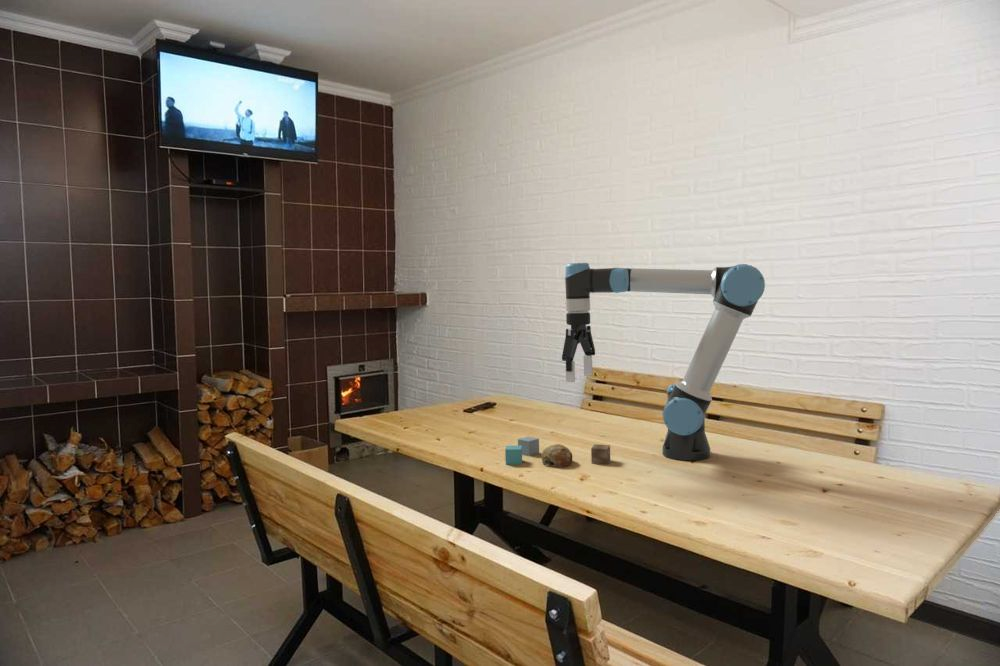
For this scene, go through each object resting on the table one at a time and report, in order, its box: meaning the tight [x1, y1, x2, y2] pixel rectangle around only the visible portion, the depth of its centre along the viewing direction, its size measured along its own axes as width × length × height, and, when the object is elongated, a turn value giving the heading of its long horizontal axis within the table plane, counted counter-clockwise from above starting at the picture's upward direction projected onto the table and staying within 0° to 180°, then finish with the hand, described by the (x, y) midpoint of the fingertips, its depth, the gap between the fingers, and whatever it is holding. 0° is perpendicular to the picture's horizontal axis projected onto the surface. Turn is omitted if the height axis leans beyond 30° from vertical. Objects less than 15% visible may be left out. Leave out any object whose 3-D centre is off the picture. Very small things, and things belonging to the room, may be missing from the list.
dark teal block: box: [504, 445, 523, 466], centre depth 226 cm, size 5×5×5 cm
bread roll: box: [541, 443, 573, 468], centre depth 224 cm, size 10×10×8 cm
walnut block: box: [590, 443, 611, 465], centre depth 224 cm, size 5×5×5 cm
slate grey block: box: [517, 435, 540, 457], centre depth 237 cm, size 5×5×5 cm
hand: (579, 378), depth 224 cm, fingers open, 13 cm apart
